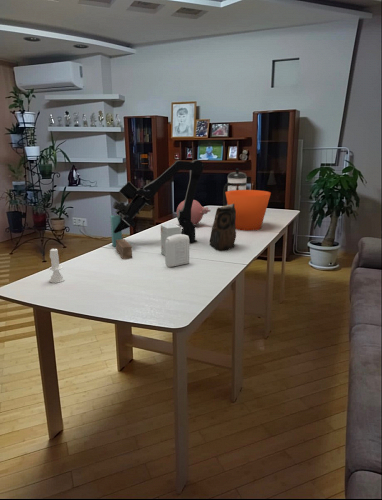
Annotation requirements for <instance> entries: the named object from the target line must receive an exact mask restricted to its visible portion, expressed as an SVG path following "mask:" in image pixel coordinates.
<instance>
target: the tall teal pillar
mask: <svg viewBox="0 0 382 500" xmlns="http://www.w3.org/2000/svg"><path fill="white" fill-rule="evenodd" d="M120 218H121V216H119V215H118V214H117V215H116V214H115V215H110V218H109V219H110V230H111V231H110V232H111V244H112V247H115V248H116V240H120V239H123V237H122V235H123V234H122V233H123V232H122V231H119V232H117V233H114V230H115V229H116V227H117V226H118V224H119V223H120Z"/></svg>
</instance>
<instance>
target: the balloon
mask: <svg viewBox="0 0 382 500" xmlns="http://www.w3.org/2000/svg"><path fill="white" fill-rule="evenodd" d="M184 202H185V199H184V200H183V201H181V202H180V203H179V204H178V206H177V208H176V217H177V216H178V211H179V210H182V208H183V206H184ZM210 212H211V209H209V207H207V206H206V207H204V206H202V205H201V203H200V202H199V201H198V200H196V199H193V204H192V208H191V222H192V223H193V224H194V226H196V225H197V224H199V223H200V222H201V221H202V220H203V217H204V215H206V214H208V213H210Z"/></svg>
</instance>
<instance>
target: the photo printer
mask: <svg viewBox="0 0 382 500" xmlns="http://www.w3.org/2000/svg"><path fill="white" fill-rule="evenodd" d="M164 259H165V266H166V267H168V268H170V267H177V266H182V265H186V264H189V263H190V243H189V237H188V236H187V235H184V234H176V235H172V236H170V237H168V238H166V240H165V255H164Z"/></svg>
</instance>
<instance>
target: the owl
mask: <svg viewBox="0 0 382 500" xmlns="http://www.w3.org/2000/svg"><path fill="white" fill-rule="evenodd" d="M234 206H235V204H231V205H227V204H226V206H224V205H223V206H220V207H217V208H216V212H215V215H214V221H213V224H212V226H211V232H210V237H209V246H211V247H212V248H213V249H214V250H216V251H219V252H222V251H229V250H232V248H235V241H236V238H237V229H236V227H235V220H236V210H235V207H234Z"/></svg>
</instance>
